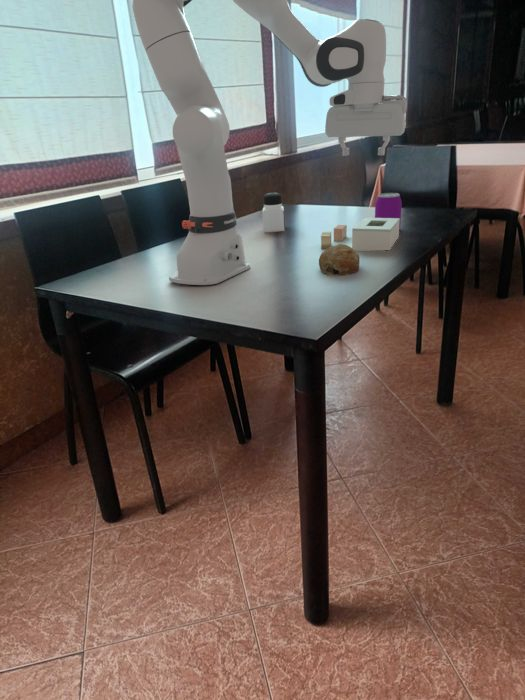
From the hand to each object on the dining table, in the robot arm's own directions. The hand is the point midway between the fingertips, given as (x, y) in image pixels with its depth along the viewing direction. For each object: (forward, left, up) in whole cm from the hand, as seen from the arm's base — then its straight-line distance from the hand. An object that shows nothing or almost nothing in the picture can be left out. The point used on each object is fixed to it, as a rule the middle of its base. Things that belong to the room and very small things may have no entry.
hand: (363, 155), depth 130 cm
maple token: (-4, +9, -25) cm, 27 cm away
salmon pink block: (+5, +8, -25) cm, 26 cm away
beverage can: (+15, -4, -25) cm, 29 cm away
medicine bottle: (+18, +34, -25) cm, 46 cm away
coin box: (-1, -4, -25) cm, 25 cm away
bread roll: (-23, 0, -25) cm, 34 cm away
